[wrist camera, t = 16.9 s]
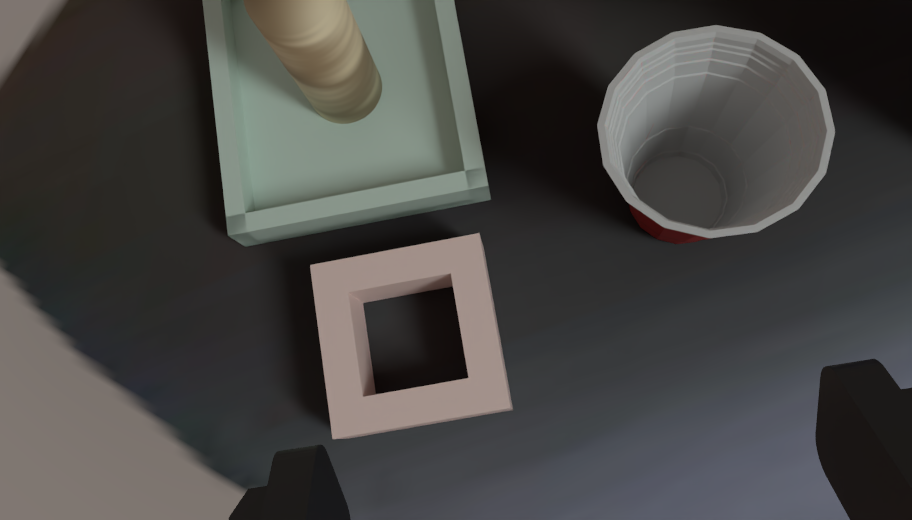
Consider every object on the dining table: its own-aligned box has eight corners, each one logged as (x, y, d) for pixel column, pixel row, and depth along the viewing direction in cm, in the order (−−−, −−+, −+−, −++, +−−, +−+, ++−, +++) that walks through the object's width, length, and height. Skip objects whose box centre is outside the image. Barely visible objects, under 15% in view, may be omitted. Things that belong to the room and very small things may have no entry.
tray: (444, -51, 54) (439, -79, 51) (491, 199, 50) (488, 185, 47) (217, -3, 55) (199, -28, 52) (245, 246, 51) (227, 235, 48)
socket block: (483, 248, 50) (479, 233, 46) (512, 409, 48) (510, 408, 44) (327, 277, 50) (309, 265, 46) (349, 438, 48) (332, 439, 44)
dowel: (375, 47, 52) (328, -63, 41) (387, 115, 51) (342, 22, 39) (304, 63, 53) (237, -42, 41) (314, 130, 51) (249, 43, 40)
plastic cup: (630, 87, 51) (658, -15, 39) (792, 158, 49) (873, 73, 37) (553, 235, 50) (558, 175, 38) (717, 314, 48) (776, 277, 36)
